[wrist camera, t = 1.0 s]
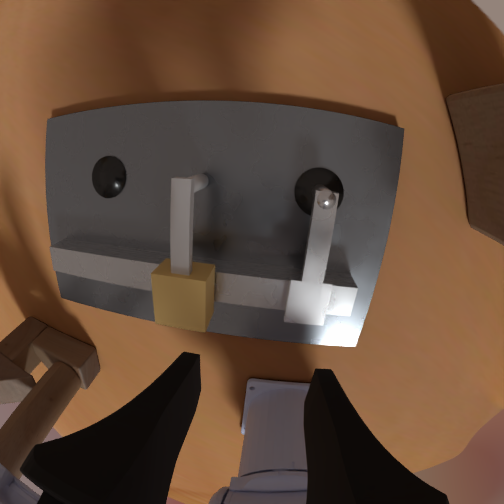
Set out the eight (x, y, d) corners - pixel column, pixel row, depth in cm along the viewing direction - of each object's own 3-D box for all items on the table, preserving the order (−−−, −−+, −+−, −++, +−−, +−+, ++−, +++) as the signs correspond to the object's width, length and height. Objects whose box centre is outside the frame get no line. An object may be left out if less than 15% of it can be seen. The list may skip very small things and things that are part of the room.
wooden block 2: (29, 314, 24) (-62, 403, 7) (96, 346, 24) (2, 476, 7) (36, 338, 25) (-44, 426, 8) (102, 370, 25) (23, 492, 8)
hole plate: (353, 340, 20) (362, 369, 17) (66, 293, 22) (44, 311, 19) (399, 129, 15) (424, 125, 11) (53, 119, 16) (24, 119, 13)
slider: (219, 297, 18) (205, 332, 15) (177, 291, 19) (155, 323, 15) (226, 174, 16) (209, 181, 12) (178, 171, 16) (149, 178, 12)
